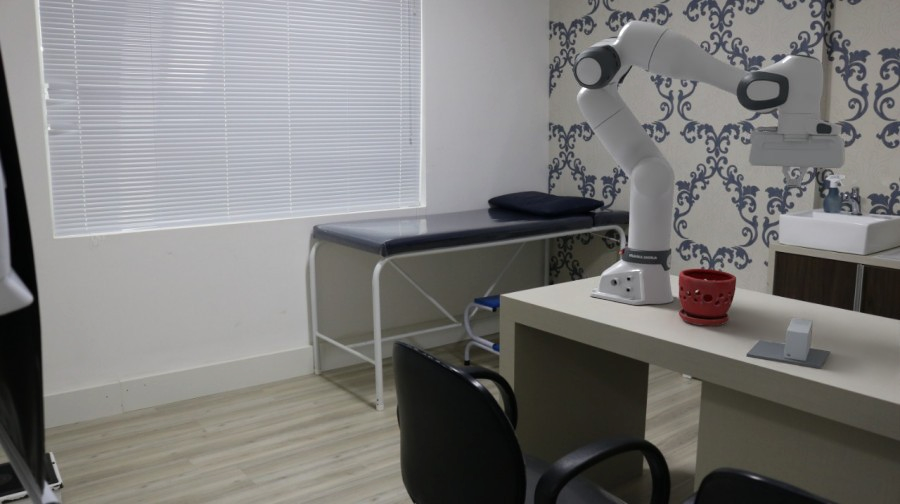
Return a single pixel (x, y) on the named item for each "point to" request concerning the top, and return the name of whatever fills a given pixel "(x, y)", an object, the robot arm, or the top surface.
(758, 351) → the slate mat
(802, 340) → the skincare box
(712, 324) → the plant pot
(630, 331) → the top surface
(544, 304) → the top surface
